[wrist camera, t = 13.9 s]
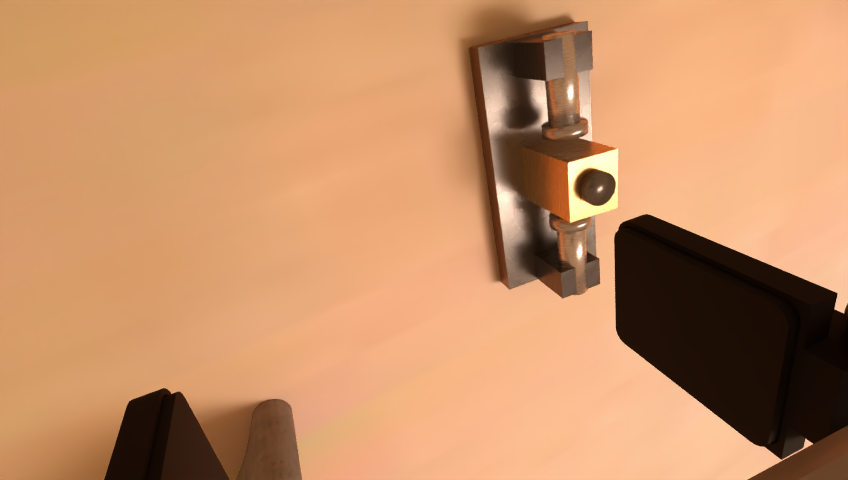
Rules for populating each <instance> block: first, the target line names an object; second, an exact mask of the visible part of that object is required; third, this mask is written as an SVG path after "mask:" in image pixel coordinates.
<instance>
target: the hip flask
mask: <svg viewBox="0 0 848 480" xmlns="http://www.w3.org/2000/svg"><path fill="white" fill-rule="evenodd" d="M237 480H302V476H301V470H300V463H299V456H298V449H297V442H296V435H295V428H294V421H293V414H292V409H291V407H290V405H289V404H288V403H287V402H285V401H283V400H279V399H272V400H268V401H265V402H263V403H261V404H260V405H259V406H258V407H257V408H256V409H255V410H254V412H253V415H252V424H251V431H250V437H249V442H248V446H247V450H246V454H245V457H244V460H243V463H242V466H241V469H240V472H239V474H238V477H237Z"/></svg>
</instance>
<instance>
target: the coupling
mask: <svg viewBox="0 0 848 480" xmlns="http://www.w3.org/2000/svg"><path fill="white" fill-rule="evenodd" d="M522 155H523V168H524V182H525V195H526V199H527V200H529V201H531V202H533V203H534V204H536V205H538V206H540V207H542V208H544V209H545V210H547V211H549V212H551V213H553V214H555V215H556V216H558V217H560V218H562V219H564V220H566V221H568V222H569V223H571V222H574V221H577V220H581V219H584V218H587V217H590V216H593V215H596V214H599V213H602V212H605V211H609V210H612V209H615V208H617V182H618V149H617V148H613V147H609V146H606V145H602V144H599V143H595V142H592V141H588V140H584V139H581V138H577V139H572V140H566V141H548V140H543V141H540V142H536V143H532V144H528V145H525V146H522Z"/></svg>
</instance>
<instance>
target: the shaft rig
mask: <svg viewBox="0 0 848 480" xmlns="http://www.w3.org/2000/svg"><path fill="white" fill-rule="evenodd" d="M469 52H470V59H471V66H472V74H473V81H474V88H475V95H476V103H477V110H478V117H479V124H480V131H481V139H482V146H483V153H484V160H485V168H486V175H487V182H488V189H489V196H490V204H491V211H492V218H493V225H494V233H495V240H496V247H497V254H498V261H499V269H500V276H501V282H502V283H503V284H504V285H505V286H506V287H507V288H508V289H512V288H515V287H518V286H520V285H523V284H526V283H528V282H531V281H534V280H536V279H539V280H540V281H541V282H543V283H544V284H545V285H546V286H548V287H549V288H550V289H551V290H553V291H554V292H555V293H557V294H558V295H559V296H560V297H562V298H565V297H568V296H570V295H580V294H583V293H585V292H586V291H587V290H588V288H591V287H593V286H596V285H598V284H600V267H599V258H597V257H596V236H595V215H593V216H590V217H587V218H584V219H581V220H577V221H574V222H571V223H569V222H568V221H566V220H564V219H562V218H560V217H558V216H556V215H555V214H553V213H551V212H549V211H547V210H545V209H544V208H542V207H540V206H538V205H536V204H534V203H533V202H531V201H529V200H527V199H526V195H525V182H524V168H523V155H522V146H525V145H528V144H532V143H536V142H540V141H543V140H548V141H566V140H572V139H577V138H581V139H584V140H588V141H592V126H591V98H590V71H589V70H590V69H593V57H592V31H588V21H585V22H574V23H570V24H565V25H561V26H557V27H553V28H549V29H545V30H540V31H536V32H532V33H528V34H524V35H519V36H515V37H511V38H507V39H503V40H499V41H494V42H490V43H486V44H482V45H478V46H474V47H469Z"/></svg>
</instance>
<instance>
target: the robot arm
mask: <svg viewBox="0 0 848 480" xmlns="http://www.w3.org/2000/svg"><path fill="white" fill-rule="evenodd" d="M614 243H615V302H616V331H617V334H618V336H619V338H620V339H621V340H622V341H623V342H624V343H625V344H626V345H627V346H628V347H630V348H631V349H632V350H634V351H635V352H636V353H637V354H639V355H640V356H641V357H643V358H644V359H645V360H646V361H648V362H649V363H650V364H652V365H653V366H654V367H655V368H657V369H658V370H659V371H661V372H662V373H663V374H664V375H666V376H667V377H668V378H670V379H671V380H672V381H673V382H675V383H676V384H677V385H678V386H680V387H681V388H682V389H684V390H685V391H686V392H687V393H689V394H690V395H691V396H693V397H694V398H695V399H696V400H698V401H699V402H700V403H702V404H703V405H704V406H705V407H707V408H708V409H709V410H711V411H712V412H713V413H714V414H716V415H717V416H718V417H720V418H721V419H722V420H723V421H725V422H726V423H727V424H729V425H730V426H731V427H732V428H734V429H735V430H736V431H738V432H739V433H740V434H741V435H743V436H744V437H745V438H747V439H748V440H749V441H750V442H752V443H754V444H755V445H758V446H764V447H766V448H767V449H768V450H770V451H771V452H772V453H773V454H775V455H776V456H777V457H779V458H780V459H781V460H782V459H784V458H785V457H787V456H789V455H791V454H793V453H794V452H796V451H798V450H800V449H802V448H803V446H804V442H805V438H806V439H807V440H809V441H810V442H812V443H813V445H811V446H809V447H807V448H805V449H803V450H802V451H800V452H798V453H796V454H794V455H792V456H790V457H789V458H787V459H785V460H783V461H781V462H779V463H778V464H776V465H774V466H772V467H770V468H768V469H766V470H765V471H763V472H761V473H759V474H757V475H755V476H753V477H752V478H750V479H748V480H848V304H847V306H846V308H845V312H844V314H843V313H841V312H839V311H837V310H834V307H835V303H836V298H837V294H838V293H836V292H833V291H831V290H828V289H826V288H824V287H821V286H819V285H816V284H814V283H812V282H809V281H807V280H804V279H802V278H800V277H797V276H795V275H793V274H790V273H788V272H785V271H783V270H781V269H778V268H776V267H773V266H771V265H769V264H766V263H764V262H761V261H759V260H757V259H754V258H752V257H749V256H747V255H745V254H742V253H740V252H738V251H735V250H733V249H730V248H728V247H726V246H723V245H721V244H718V243H716V242H714V241H711V240H709V239H706V238H704V237H702V236H699V235H697V234H694V233H692V232H690V231H687V230H685V229H682V228H680V227H678V226H675V225H673V224H671V223H668V222H666V221H663V220H661V219H659V218H656V217H654V216H651V215H647V214H646V215H642V216H639V217H636V218H633V219H630V220H628V221H625V222H623V223H622V224H620V227H619V230H618V231H617V232H616V234H615V238H614ZM104 480H229V478H228V476H227V474H226V473H225V471H224V469H223V467H222V465H221V463H220V461H219V460H218V458H217V456H216V454H215V452H214V450H213V449H212V447H211V445H210V443H209V441H208V439H207V438H206V436H205V434H204V432H203V430H202V428H201V426H200V425H199V423H198V421H197V419H196V417H195V415H194V414H193V412H192V410H191V408H190V406H189V404H188V403H187V401H186V399H185V397H184V396H183V394H182V393H181V392H176V393H173V394H171V393H170V391H168V390H167V389H165V388H163V389H160V390H158V391H155V392H152V393H149V394H147V395H144V396H141V397H138V398H136V399H133V400H131V401H129V403H128V405H127V408H126V411H125V414H124V418H123V421H122V424H121V427H120V431H119V434H118V437H117V440H116V444H115V447H114V450H113V453H112V457H111V460H110V463H109V466H108V470H107V473H106V476H105V479H104Z"/></svg>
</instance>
